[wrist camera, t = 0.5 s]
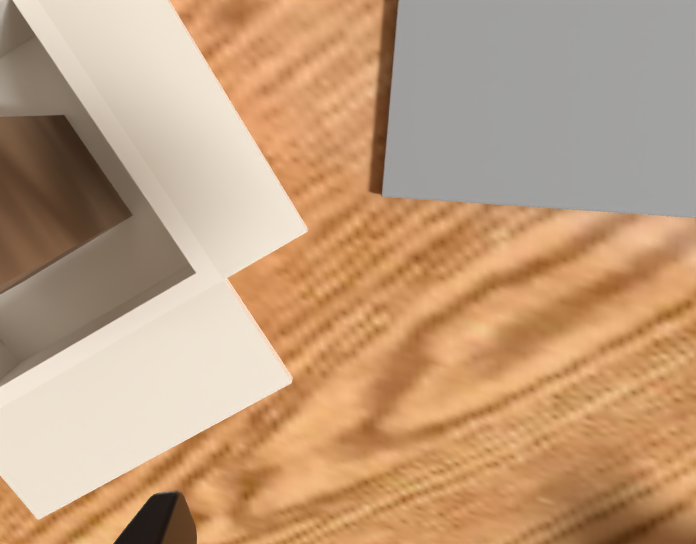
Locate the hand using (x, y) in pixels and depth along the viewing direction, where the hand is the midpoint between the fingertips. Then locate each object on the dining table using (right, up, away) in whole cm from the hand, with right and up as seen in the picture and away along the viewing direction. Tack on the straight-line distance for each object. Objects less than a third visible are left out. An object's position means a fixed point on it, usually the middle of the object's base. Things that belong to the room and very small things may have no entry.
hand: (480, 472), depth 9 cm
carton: (-12, +4, +13) cm, 18 cm away
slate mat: (+6, +11, +11) cm, 17 cm away
